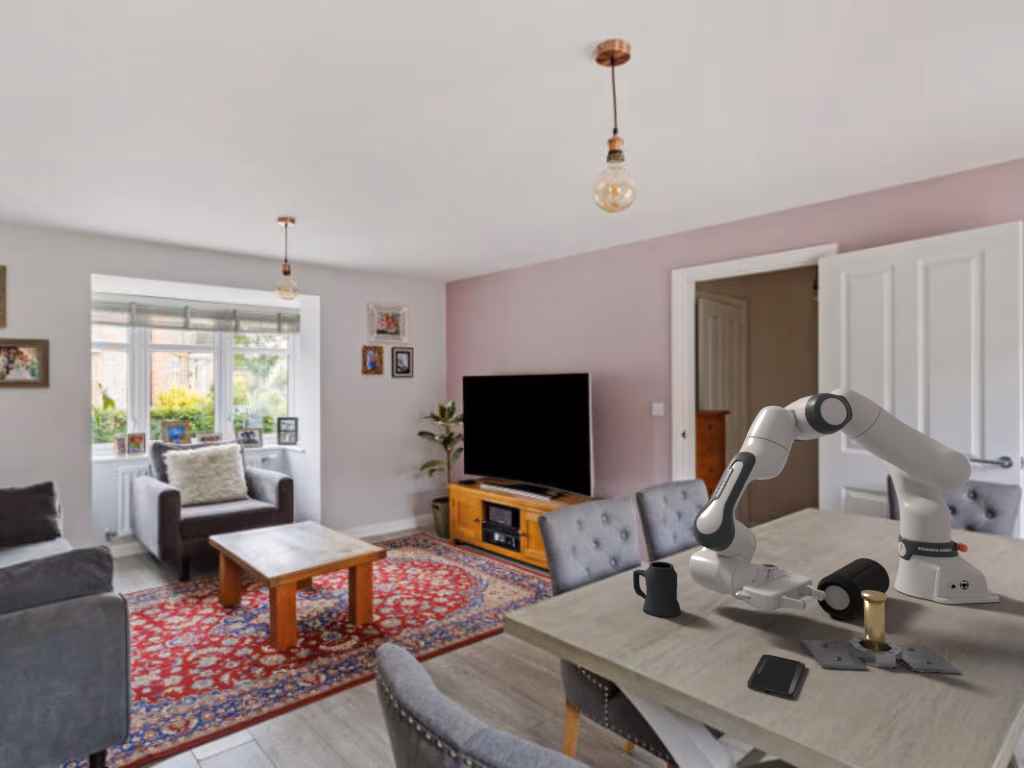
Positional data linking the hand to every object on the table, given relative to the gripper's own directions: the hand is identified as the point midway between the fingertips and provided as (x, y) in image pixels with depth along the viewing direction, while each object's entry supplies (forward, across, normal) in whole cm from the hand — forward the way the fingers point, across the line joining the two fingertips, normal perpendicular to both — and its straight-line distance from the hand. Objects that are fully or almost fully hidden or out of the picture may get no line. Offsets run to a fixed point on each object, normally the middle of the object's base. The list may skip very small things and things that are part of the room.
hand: (814, 601), depth 130 cm
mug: (-32, -12, +9) cm, 36 cm away
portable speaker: (-2, +27, +8) cm, 28 cm away
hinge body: (+12, 0, +8) cm, 14 cm away
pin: (+12, 0, +8) cm, 14 cm away
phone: (+3, -23, +9) cm, 25 cm away
